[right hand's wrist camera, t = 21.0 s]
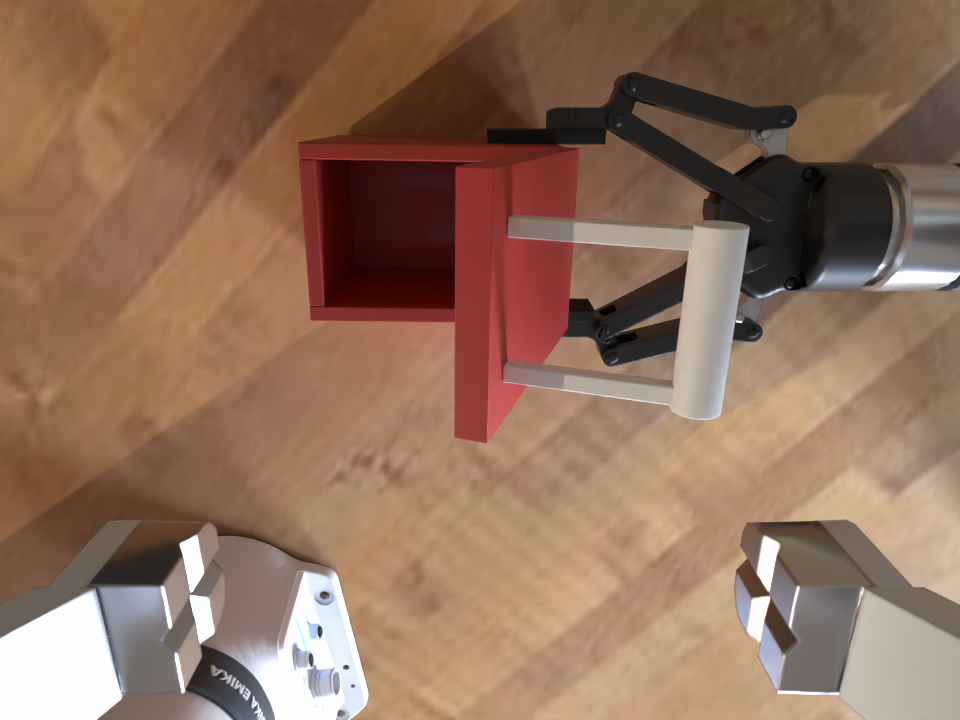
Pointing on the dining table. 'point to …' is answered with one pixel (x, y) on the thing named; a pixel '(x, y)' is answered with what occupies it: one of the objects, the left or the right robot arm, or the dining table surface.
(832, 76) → the dining table surface
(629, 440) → the dining table surface
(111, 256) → the dining table surface
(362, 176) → the chest
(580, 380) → the lid
